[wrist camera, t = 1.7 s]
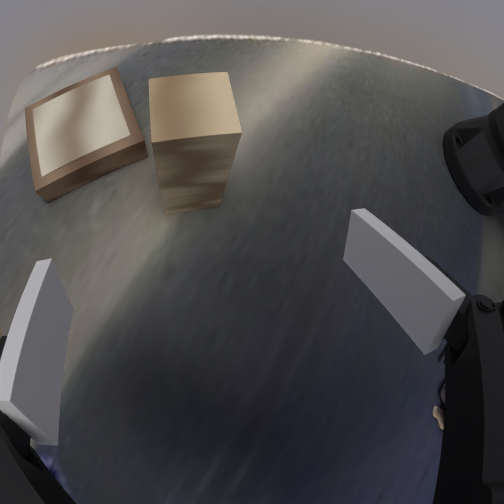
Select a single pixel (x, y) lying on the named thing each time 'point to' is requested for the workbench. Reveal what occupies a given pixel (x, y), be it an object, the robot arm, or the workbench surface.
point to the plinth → (82, 134)
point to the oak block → (193, 138)
